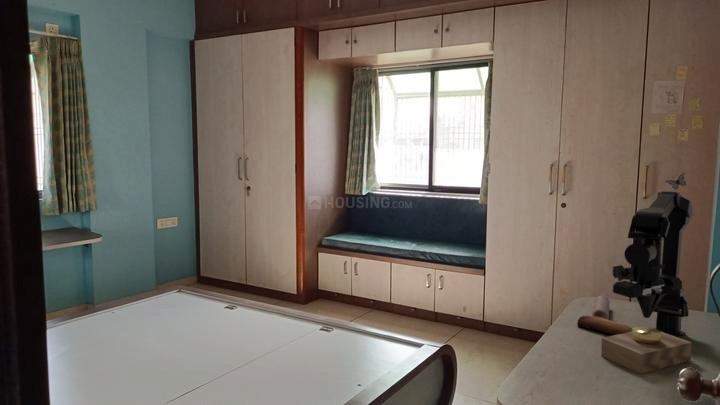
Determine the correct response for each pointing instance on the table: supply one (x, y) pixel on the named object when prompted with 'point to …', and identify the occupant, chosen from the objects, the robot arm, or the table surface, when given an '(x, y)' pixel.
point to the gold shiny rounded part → (646, 335)
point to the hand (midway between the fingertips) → (646, 317)
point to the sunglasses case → (603, 325)
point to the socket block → (646, 352)
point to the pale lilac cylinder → (601, 307)
